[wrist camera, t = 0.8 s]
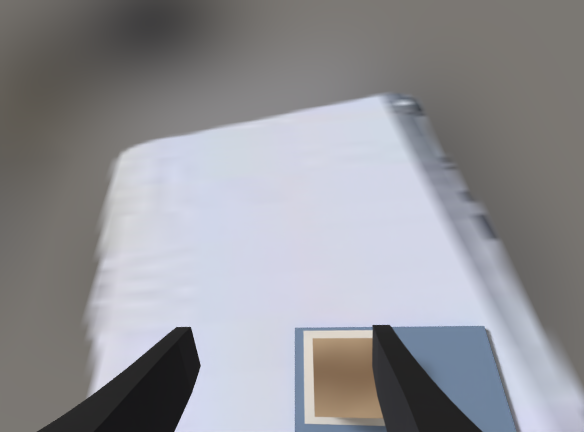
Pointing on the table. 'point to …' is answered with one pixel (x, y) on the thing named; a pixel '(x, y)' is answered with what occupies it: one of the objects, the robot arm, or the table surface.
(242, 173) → the table surface
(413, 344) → the board
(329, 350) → the oak block
